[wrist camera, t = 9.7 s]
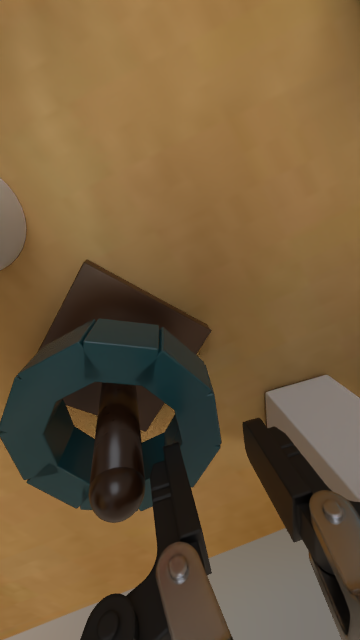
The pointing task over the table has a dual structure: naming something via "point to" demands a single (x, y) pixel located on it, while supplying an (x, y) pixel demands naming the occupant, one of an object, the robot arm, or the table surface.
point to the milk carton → (321, 429)
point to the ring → (108, 367)
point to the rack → (118, 385)
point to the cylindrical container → (10, 226)
